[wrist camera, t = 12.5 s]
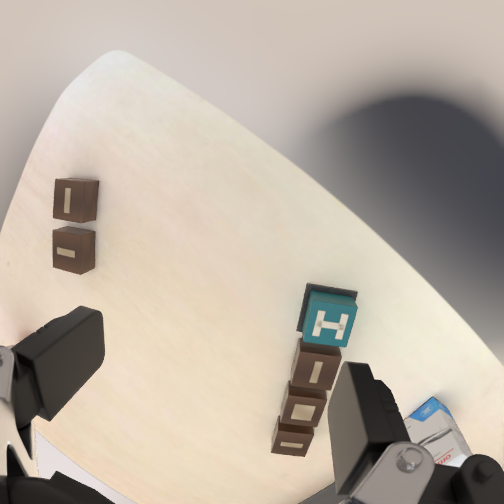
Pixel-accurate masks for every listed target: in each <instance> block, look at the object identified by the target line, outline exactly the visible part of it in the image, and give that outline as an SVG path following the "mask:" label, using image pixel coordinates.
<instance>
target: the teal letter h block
mask: <svg viewBox="0 0 504 504" xmlns="http://www.w3.org/2000/svg"><path fill="white" fill-rule="evenodd" d="M357 308H358V307H357V305H356V303H355V301H354V299H353V297H350V296H343V295H337V294H331V293H325V292H319V291H313V290H311V292H310V297H309V301H308V306H307V310H306V315H305V319H304V323H303V327H302V332H303V341H304V342H310V343H317V344H324V345H331V346H339V347H346V346H347V343H348V339H349V336H350V333H351V329H352V326H353V322H354V319H355V315H356V312H357Z"/></svg>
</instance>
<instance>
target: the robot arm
mask: <svg viewBox="0 0 504 504" xmlns="http://www.w3.org/2000/svg"><path fill="white" fill-rule="evenodd" d="M104 356H105V344H104V328H103V316H102V313H101V312H100V311H98V310H94V309H91V308H88V307H84V306H79V307H77V308H76V309H74V310H73V311H71V312H70V313H69V314H67V315H65V316H62V317H58V318H55V319H53V320H51V321H50V322H48V323H47V324H45V325H44V327H41V328H40V329H38V330H37V331H36V333H35V332H34V333H32V334H31V335H29V336H28V337H26V338H25V339H24V340H22V341H21V342H19V343H18V344H16V345H15V346H14V347H12V348H11V349H9V348H7V347H4V346H0V504H115V503H113V502H112V501H110V500H109V499H107V498H106V497H105V496H103V495H101V494H100V493H99V492H98V491H96V490H95V489H93V488H91V487H88V486H86V485H84V484H82V483H80V482H78V481H76V480H74V479H72V478H69V477H67V476H66V475H64V474H62V473H60V472H58V471H56V472H55V473H54V475H53V476H52V477H51V479H50V480H49V479H44V478H40V475H39V471H38V465H37V454H36V440H35V424H34V421H33V418H34V417H35V416H36V415H38V416H40V417H42V418H43V419H45V420H47V421H49V422H50V421H51V420H52V419H53V418H54V416H55V415H56V414H57V413H58V412H59V411H60V410H61V409H62V408H63V407H64V405H65V404H66V403H67V402H68V401H69V400H70V399H71V398H72V397H73V396H74V394H75V393H76V392H77V391H78V390H79V389H80V388H81V387H82V386H83V385H84V384H85V383H86V381H87V380H88V379H89V378H90V377H91V376H92V375H93V374H94V373H95V372H96V371H97V370H98V369H99V368H100V366H101V365H102V363H103V360H104ZM398 411H399V409H398V406H397V404H396V403H395V399H394V397H393V394H392V392H391V390H390V389H389V388H388V387H387V386H386V385H385V384H384V383H383V382H382V381H381V380H374V377H373V375H372V372H371V369H370V367H369V365H368V364H366V363H357V362H347V361H345V362H344V363H343V365H342V367H341V370H340V373H339V376H338V379H337V382H336V384H335V387H334V390H333V393H332V396H331V398H330V402H329V406H328V424H329V432H330V440H331V449H332V458H333V467H334V477H335V487H336V495H349V497H347V498H346V499H345V500H344V501H343V502H342V503H341V504H504V472H503V470H502V468H501V466H500V465H499V464H498V462H496V461H495V460H494V459H493V458H491V457H489V456H486V455H482V454H475V455H471V456H469V457H468V458H466V459H465V461H464V462H463V463H462V465H461V466H460V467H455V466H448V465H442V464H437V463H435V462H434V458H433V456H432V455H431V453H430V452H429V451H428V450H427V449H426V448H424V447H423V446H421V445H419V444H416V443H413V442H411V439H410V437H409V434H408V431H407V429H406V426H405V424H404V421H403V419H402V416H401V414H400V412H398Z"/></svg>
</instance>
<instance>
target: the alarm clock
mask: <svg viewBox="0 0 504 504" xmlns="http://www.w3.org/2000/svg"><path fill="white" fill-rule="evenodd" d="M347 497H349V495H336V487H335V482H334V483H333V484H331V485H329V486H328V487H326V488H325V489H323V490H321V491H320V492H318V493H316V494H315V495H313V496H311V497H310V498H308V499H306V500H304V501H303V502H301V503H299V504H341V503H342V502H343V501H344V500H345V499H346V498H347Z"/></svg>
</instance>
